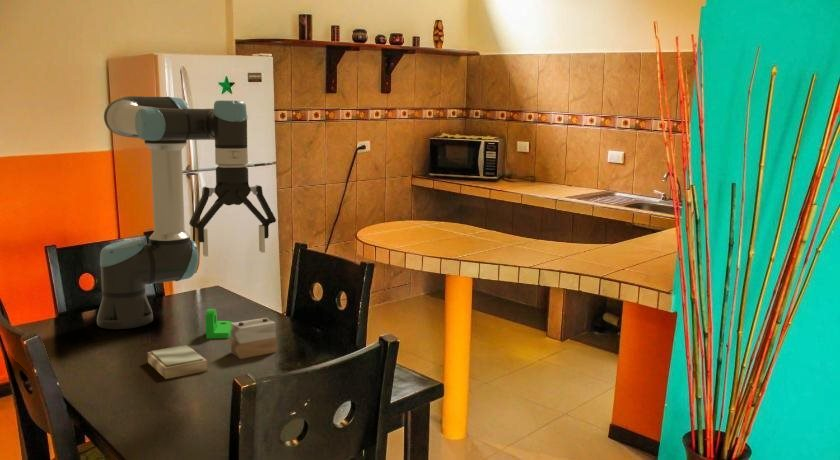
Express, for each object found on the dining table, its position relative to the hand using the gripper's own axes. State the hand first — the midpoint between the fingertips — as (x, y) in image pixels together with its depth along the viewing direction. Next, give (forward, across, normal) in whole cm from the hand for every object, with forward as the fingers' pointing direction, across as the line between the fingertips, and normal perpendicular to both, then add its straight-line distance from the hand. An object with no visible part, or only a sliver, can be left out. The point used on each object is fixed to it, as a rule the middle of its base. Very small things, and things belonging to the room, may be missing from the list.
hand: (234, 253), depth 180 cm
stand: (+28, -14, +4) cm, 31 cm away
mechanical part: (+28, +1, +28) cm, 39 cm away
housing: (+28, +6, +7) cm, 29 cm away
